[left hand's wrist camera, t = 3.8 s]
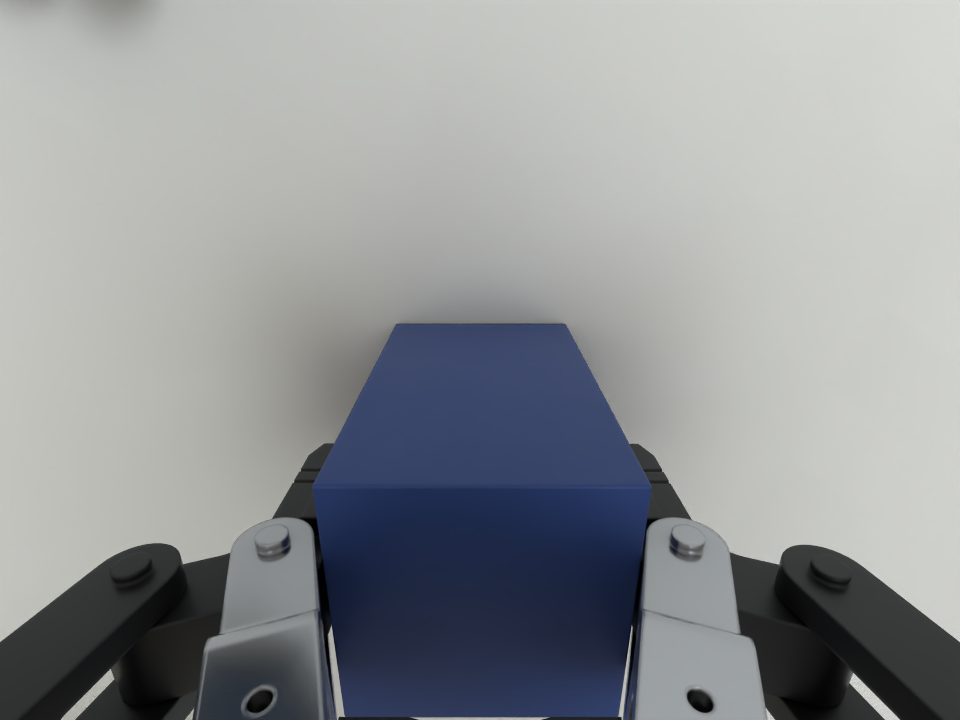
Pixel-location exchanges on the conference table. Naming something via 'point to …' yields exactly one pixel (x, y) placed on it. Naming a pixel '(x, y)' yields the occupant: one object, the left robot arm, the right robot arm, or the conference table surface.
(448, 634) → the block
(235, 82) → the conference table surface
